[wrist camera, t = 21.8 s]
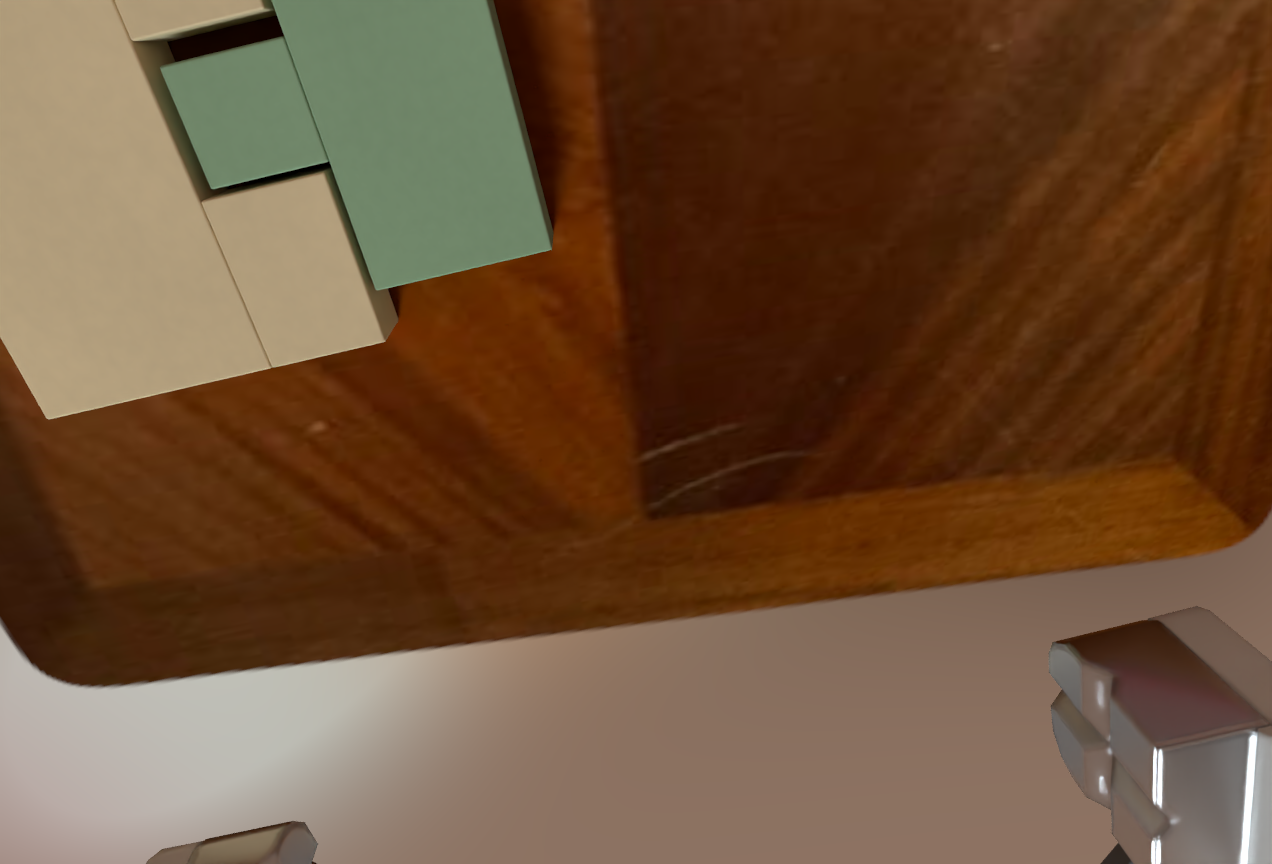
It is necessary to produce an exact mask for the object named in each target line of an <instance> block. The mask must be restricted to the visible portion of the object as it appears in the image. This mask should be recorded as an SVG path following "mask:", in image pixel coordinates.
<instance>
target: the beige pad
mask: <svg viewBox="0 0 1272 864" xmlns="http://www.w3.org/2000/svg"><path fill="white" fill-rule="evenodd" d="M272 16H277V14H276V12H275V9H274V6H273V3H272V1H271V0H0V337H1V339H2V341H3V343H4V344H5V346H6V348H7V350H8V351H9V353H10V355H11V357H12V358H13V360H14V362H15V364H16V365H17V367H18V369H19V371H20V372H21V374H22V376H23V378H24V379H25V381H26V383H27V385H28V386H29V388H30V390H31V392H32V393H33V395H34V397H35V399H36V400H37V402H38V404H39V406H40V408H41V409H42V411H43V413H44V415H45V416H46V418H47V419H53V418H57V417H62V416H66V415H70V414H75V413H79V412H83V411H88V410H92V409H96V408H101V407H105V406H109V405H114V404H118V403H122V402H127V401H131V400H135V399H140V398H144V397H148V396H153V395H157V394H161V393H165V392H170V391H174V390H178V389H183V388H187V387H191V386H196V385H200V384H204V383H209V382H213V381H217V380H222V379H226V378H230V377H235V376H239V375H243V374H248V373H252V372H256V371H260V370H265V369H269V368H271V367H278V366H283V365H287V364H291V363H296V362H300V361H304V360H308V359H313V358H317V357H321V356H326V355H330V354H334V353H339V352H343V351H347V350H352V349H356V348H360V347H365V346H369V345H373V344H378V343H382V342H385V341H386V339H387V338H388V336H389V334H390V333H391V331H392V330H393V328H394V326H395V325H396V323H397V322H398V317H397V314H396V311H395V308H394V305H393V302H392V300H391V297H390V294H389V291H388V288H387V289H382V290H376V289H375V287H374V284H373V281H372V278H371V276H370V273H369V270H368V267H367V264H366V262H365V259H364V256H363V253H362V251H361V248H360V245H359V242H358V239H357V237H356V234H355V231H354V228H353V226H352V223H351V220H350V217H349V214H348V212H347V209H346V206H345V203H344V201H343V198H342V195H341V192H340V189H339V187H338V184H337V181H336V178H335V176H334V173H333V170H332V167H331V165H328V166H323V167H319V168H315V169H311V170H307V171H302V172H298V173H294V174H290V175H286V176H281V177H277V178H273V179H269V180H265V181H260V182H256V183H252V184H248V185H243V186H239V187H235V188H231V189H228V187H227V186H225V187H221V188H217V189H211V187H210V185H209V183H208V181H207V178H206V176H205V173H204V171H203V169H202V166H201V164H200V162H199V159H198V157H197V155H196V152H195V150H194V148H193V145H192V143H191V140H190V138H189V136H188V133H187V131H186V129H185V126H184V124H183V122H182V119H181V117H180V115H179V112H178V110H177V107H176V105H175V103H174V100H173V98H172V96H171V93H170V91H169V89H168V86H167V84H166V81H165V79H164V77H163V74H162V72H161V70H160V67H161V66H163V65H167V64H171V63H175V59H174V57H173V55H172V52H171V50H170V47H169V45H168V43H167V41H174V40H178V39H182V38H186V37H190V36H194V35H198V34H203V33H207V32H211V31H215V30H219V29H223V28H227V27H231V26H235V25H240V24H244V23H248V22H252V21H256V20H260V19H264V18H268V17H272Z"/></svg>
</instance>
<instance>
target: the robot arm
mask: <svg viewBox="0 0 1272 864" xmlns="http://www.w3.org/2000/svg"><path fill="white" fill-rule="evenodd" d="M1049 673H1050V674H1051V676H1052V677H1053V678H1054V679H1055V681H1056V682H1057V683H1058V685H1059V686H1060V687H1061V688H1062V690H1061V692H1060V693H1059V695H1058V696H1057V698H1056V699H1055V701H1054V702H1053V703H1052V705H1051V711H1052V723H1053V732H1054V735H1055V738H1056V741H1057V744H1058V747H1059V750H1060V753H1061V756H1062V758H1063V760H1064V762H1065V764H1066V766H1067V768H1068V769H1069V772H1070V774H1071V775H1072V777H1073V779H1074V780H1075V782H1076V783H1077V784H1078V786H1079V787H1080V789H1081V790H1082V792H1083V793H1084V795H1085V796H1086V797H1087V798H1089V799H1091V800H1093V801H1095V802H1097V803H1099V804H1101V805H1103V806H1104V807H1106V808H1108V809H1110V810H1111V815H1112V834H1113V836H1114V837H1115V839H1116V840H1117V841H1118V843H1119V844H1120V845H1121V847H1122V848H1123V850H1124V851H1125V852H1126V854H1127V855H1128V857H1129V858H1130V859H1131V861H1132V862H1133V864H1272V661H1270V660H1269V659H1268V658H1267V657H1265V656H1264V655H1263V654H1262V653H1261V652H1259V651H1258V650H1257V649H1256V648H1255V647H1253V646H1252V645H1251V644H1250V643H1249V642H1247V641H1246V640H1245V639H1244V638H1243V637H1241V636H1240V635H1239V634H1238V633H1236V632H1235V631H1234V630H1233V629H1232V628H1231V627H1229V626H1228V625H1227V624H1226V623H1224V622H1223V621H1222V620H1221V619H1219V618H1218V617H1217V616H1216V615H1215V614H1214V613H1212V612H1211V611H1210V610H1207V609H1204V608H1201V607H1198V606H1196V607H1192V608H1188V609H1184V610H1180V611H1176V612H1172V613H1168V614H1164V615H1160V616H1156V617H1153V618H1149V619H1148V620H1144V621H1143V620H1142V621H1138V622H1134V623H1129V624H1125V625H1121V626H1117V627H1113V628H1109V629H1105V630H1101V631H1097V632H1093V633H1088V634H1084V635H1080V636H1076V637H1072V638H1068V639H1064V640H1060V641H1056V642H1053V643H1052V646H1051V648H1050V651H1049ZM317 845H318V844H317V842H316V840H315V839H314V837H313V835H312V834H311V832H310V830H309V829H308V827H307V825H306V824H305V823H304V822H295V821H291V822H286V823H281V824H277V825H271V826H267V827H262V828H257V829H252V830H248V831H243V832H238V833H233V834H228V835H223V836H219V837H214V838H209V839H206V840H205V841H201V842H196V843H191V844H186V845H181V846H176V847H171V848H166V849H162V850H160V851H159V852H158V853H157V854H156V855H154V856H153V857H152V858H150V859H149V860H148V861H147V863H146V864H316V863H314V862H313V861H312V860H313V857H314V854H315V851H316V848H317Z"/></svg>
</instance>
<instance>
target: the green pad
mask: <svg viewBox="0 0 1272 864" xmlns="http://www.w3.org/2000/svg"><path fill="white" fill-rule="evenodd" d="M271 1H272V3H273V6H274V9H275V12H276V14H277V17H278V20H279V23H280V26H281V28H282V31H283V34H284V37H277V38H273V39H269V40H265V41H261V42H257V43H253V44H249V45H245V46H240V47H236V48H232V49H228V50H224V51H220V52H216V53H212V54H208V55H204V56H199V57H195V58H191V59H187V60H183V61H179V62H175V63H171V64H167V65H163V66H161V67H160V70H161V72H162V74H163V77H164V79H165V81H166V84H167V86H168V89H169V91H170V93H171V96H172V98H173V100H174V103H175V105H176V107H177V110H178V112H179V115H180V117H181V119H182V122H183V124H184V126H185V129H186V131H187V133H188V136H189V138H190V140H191V143H192V145H193V148H194V150H195V152H196V155H197V157H198V159H199V162H200V164H201V166H202V169H203V171H204V173H205V176H206V178H207V181H208V183H209V185H210V187H211V189H217V188H221V187H225V186H229V185H234V184H238V183H242V182H246V181H250V180H255V179H259V178H263V177H267V176H271V175H275V174H280V173H284V172H288V171H292V170H296V169H301V168H305V167H309V166H313V165H317V164H321V163H326V162H328V161H329V162H330V164H331V167H332V170H333V173H334V176H335V178H336V181H337V184H338V187H339V189H340V192H341V195H342V198H343V201H344V203H345V206H346V209H347V212H348V214H349V217H350V220H351V223H352V226H353V228H354V231H355V234H356V237H357V239H358V242H359V245H360V248H361V251H362V253H363V256H364V259H365V262H366V264H367V267H368V270H369V273H370V276H371V278H372V281H373V284H374V287H375V289H376V290H382V289H387V288H391V287H395V286H399V285H404V284H408V283H412V282H416V281H421V280H425V279H429V278H433V277H438V276H442V275H446V274H451V273H455V272H459V271H463V270H468V269H472V268H476V267H480V266H485V265H489V264H493V263H497V262H502V261H506V260H510V259H515V258H519V257H523V256H527V255H532V254H536V253H540V252H544V251H549V250H551V249H552V243H553V229H552V225H551V221H550V217H549V214H548V210H547V206H546V202H545V198H544V194H543V190H542V187H541V183H540V179H539V175H538V171H537V167H536V163H535V159H534V156H533V152H532V148H531V144H530V140H529V136H528V132H527V129H526V125H525V121H524V117H523V113H522V109H521V105H520V102H519V98H518V94H517V90H516V86H515V82H514V78H513V74H512V71H511V67H510V63H509V59H508V55H507V51H506V47H505V44H504V40H503V36H502V32H501V28H500V24H499V20H498V17H497V13H496V9H495V5H494V1H493V0H271Z"/></svg>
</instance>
